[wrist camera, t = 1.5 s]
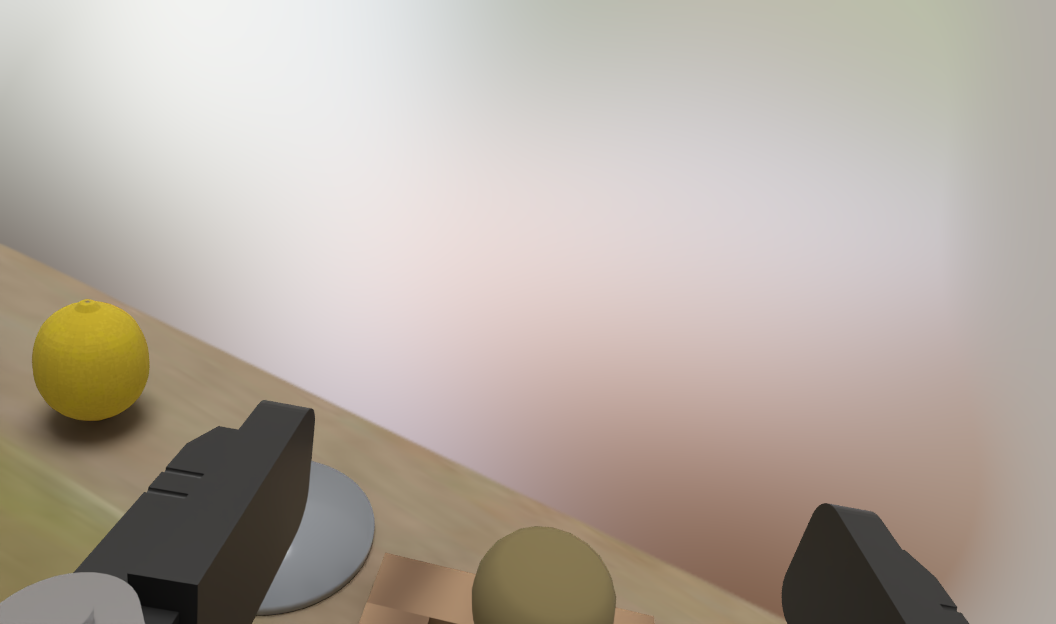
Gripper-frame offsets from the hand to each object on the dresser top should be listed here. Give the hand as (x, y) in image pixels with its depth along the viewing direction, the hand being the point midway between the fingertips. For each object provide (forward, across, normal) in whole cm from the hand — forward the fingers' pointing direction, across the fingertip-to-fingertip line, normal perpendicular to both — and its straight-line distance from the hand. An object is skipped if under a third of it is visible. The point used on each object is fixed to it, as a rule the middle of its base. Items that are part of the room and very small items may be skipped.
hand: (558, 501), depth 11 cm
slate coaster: (+19, +10, +20) cm, 30 cm away
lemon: (+25, +23, +19) cm, 39 cm away
